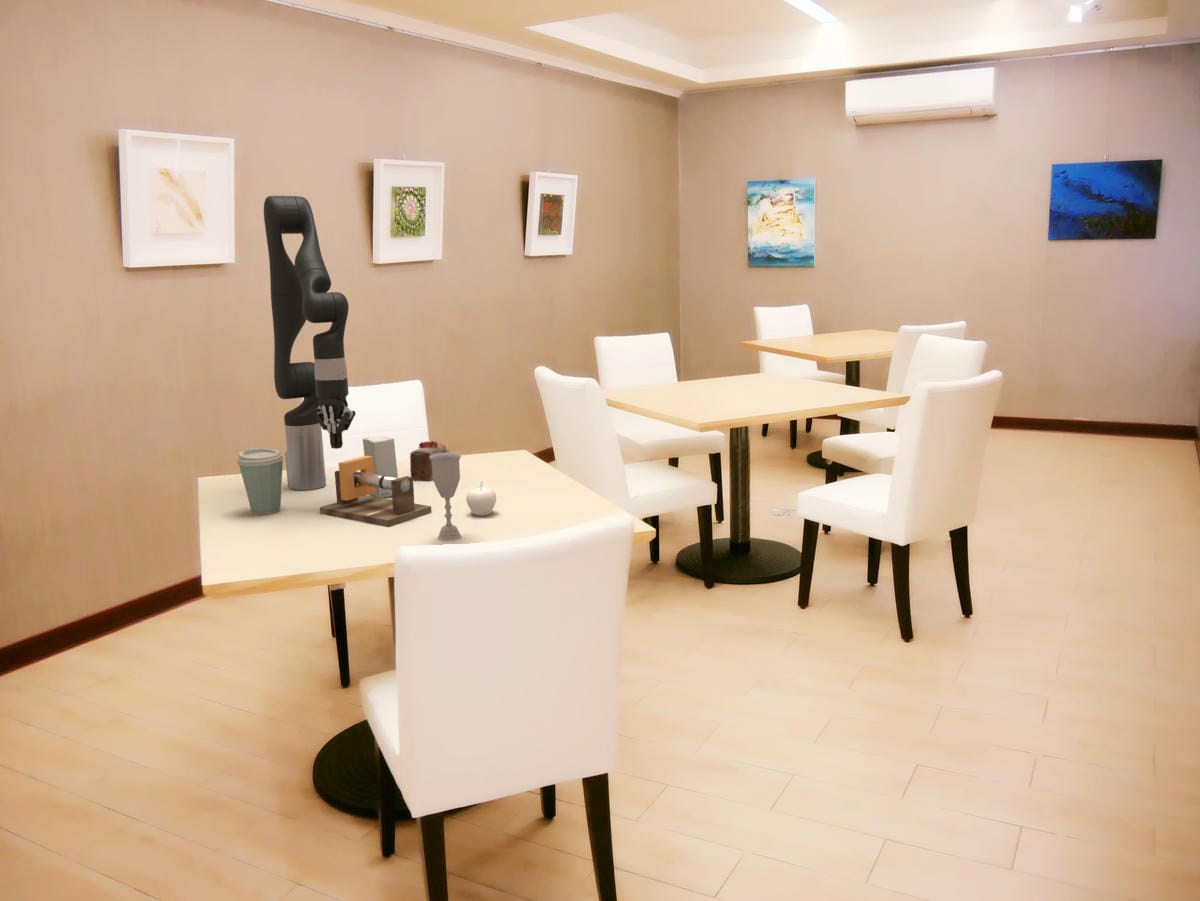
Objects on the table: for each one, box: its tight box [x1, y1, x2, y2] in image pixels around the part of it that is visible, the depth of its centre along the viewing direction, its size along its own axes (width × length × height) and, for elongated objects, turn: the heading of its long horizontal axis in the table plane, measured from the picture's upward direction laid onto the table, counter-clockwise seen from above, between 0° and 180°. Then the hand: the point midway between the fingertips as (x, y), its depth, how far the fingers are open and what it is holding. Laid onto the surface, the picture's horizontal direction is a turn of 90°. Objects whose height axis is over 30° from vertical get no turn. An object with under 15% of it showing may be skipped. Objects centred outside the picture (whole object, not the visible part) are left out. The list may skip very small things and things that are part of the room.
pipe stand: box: [319, 470, 432, 528], centre depth 230 cm, size 23×14×10 cm, turn 57°
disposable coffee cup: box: [236, 447, 284, 516], centre depth 232 cm, size 11×11×15 cm
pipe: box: [353, 471, 410, 492], centre depth 229 cm, size 21×3×3 cm, turn 57°
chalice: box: [429, 452, 462, 541], centre depth 208 cm, size 7×7×18 cm
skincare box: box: [362, 434, 399, 498], centre depth 247 cm, size 8×6×15 cm
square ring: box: [338, 456, 375, 501], centre depth 232 cm, size 2×9×9 cm, turn 146°
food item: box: [409, 440, 450, 482], centre depth 268 cm, size 14×8×10 cm, turn 170°
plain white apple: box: [465, 481, 497, 517], centre depth 227 cm, size 7×7×8 cm
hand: (336, 447), depth 234 cm, fingers closed
